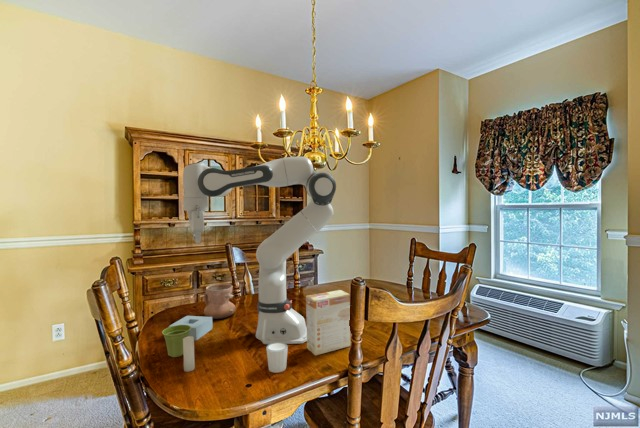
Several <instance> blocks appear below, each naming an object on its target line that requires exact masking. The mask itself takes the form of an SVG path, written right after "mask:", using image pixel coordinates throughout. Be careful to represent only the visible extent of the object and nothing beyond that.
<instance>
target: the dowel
mask: <svg viewBox="0 0 640 428" xmlns="http://www.w3.org/2000/svg"><path fill="white" fill-rule="evenodd" d="M182 356H183V371H184V372H192V371H194V370H195V369H196V366H195V340H194V337H193V336H188V337H185V338H183V354H182Z"/></svg>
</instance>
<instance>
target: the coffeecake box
mask: <svg viewBox="0 0 640 428" xmlns="http://www.w3.org/2000/svg"><path fill="white" fill-rule="evenodd" d="M350 296H351V295H350V293H348V292H346V291H344V290H342V289H337V290H331V291H326V292H322V293H321V292H320V293H315V294H309V295H308V294H307V295H306V296H305V303H306V304H305V309H306V312H305V313H306V316H305V317H306V318H305V319H306V327H307V341H306V348H307V350H308V351H309V352H311V353H312V354H313V355H314V356H320V355H322V354H326V353H330V352H334V351H336V350H340V349H345V348H349V347H352V346H351V331H350V326H349V320H350V306H351V305H350V304H351V299H350V298H351V297H350Z"/></svg>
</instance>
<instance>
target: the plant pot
mask: <svg viewBox="0 0 640 428" xmlns="http://www.w3.org/2000/svg"><path fill="white" fill-rule="evenodd" d="M190 330H191V326H189V325H176V326H171V327H169V326H168V327H166V328H164V329H163V330H162V331H161V333H162V335H163V337H164V341H165V345H166V350H167V355H168V357H171V358H178V357H181V356H183V338H185V337H188V336H189V333H190Z"/></svg>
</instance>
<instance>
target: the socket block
mask: <svg viewBox="0 0 640 428" xmlns="http://www.w3.org/2000/svg"><path fill="white" fill-rule="evenodd" d="M176 325H189V326H191V330H190V333H189V336H193V337H194V341H198V340H199V339H200V338H202V337H203V336H205V335H206V334H207V333H209V332H210V331H212V330H213V326H214V325H213V319H212V317H207V316H200V315H197V316H196V315H186V316H184V317H182V318H181V319H179V320H177V321H175V322H174V323H172V324H170V325H168V327H171V326H176Z"/></svg>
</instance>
